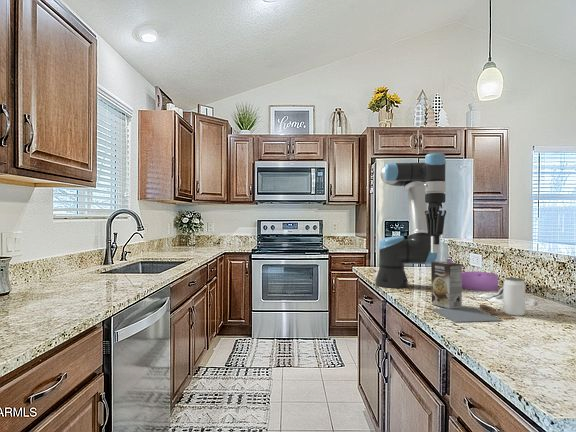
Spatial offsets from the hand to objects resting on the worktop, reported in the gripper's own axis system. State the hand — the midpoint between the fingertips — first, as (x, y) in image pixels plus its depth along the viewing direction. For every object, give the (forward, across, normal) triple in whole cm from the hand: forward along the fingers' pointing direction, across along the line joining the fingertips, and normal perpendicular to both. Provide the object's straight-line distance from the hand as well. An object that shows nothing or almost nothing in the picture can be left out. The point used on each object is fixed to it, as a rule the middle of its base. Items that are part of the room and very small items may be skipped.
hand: (435, 252), depth 149 cm
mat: (+19, +20, 0) cm, 28 cm away
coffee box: (+19, +8, 0) cm, 21 cm away
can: (+20, +20, +18) cm, 34 cm away
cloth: (+20, 0, +30) cm, 36 cm away
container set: (+19, -25, +29) cm, 43 cm away
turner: (+19, +20, +12) cm, 30 cm away
